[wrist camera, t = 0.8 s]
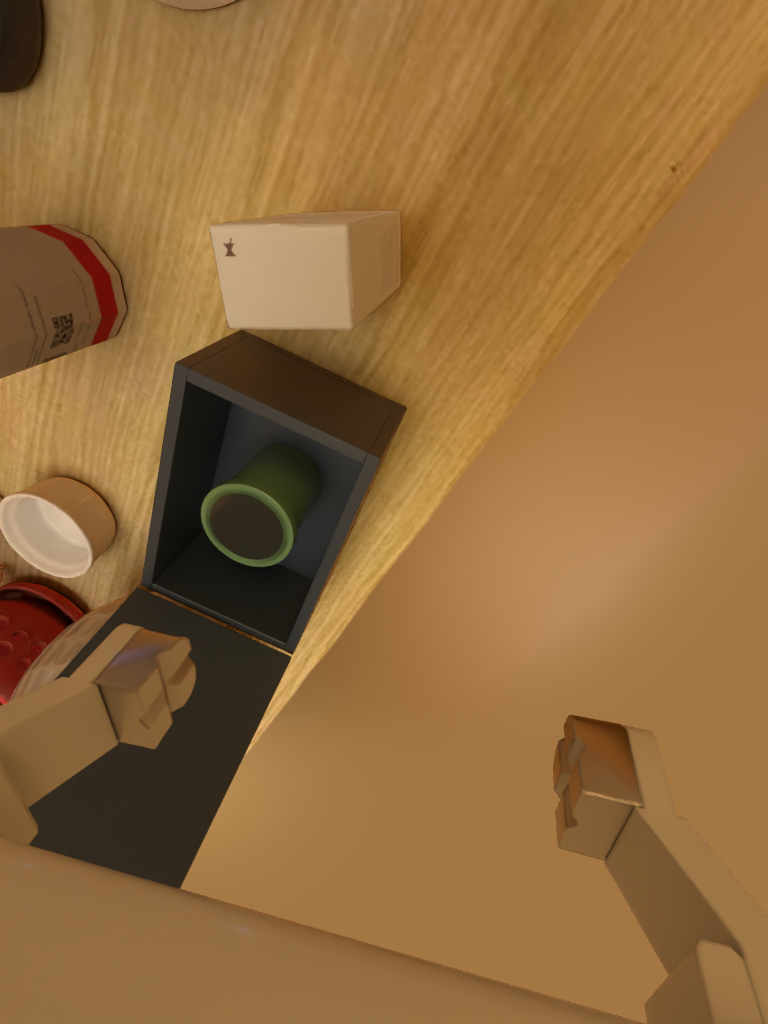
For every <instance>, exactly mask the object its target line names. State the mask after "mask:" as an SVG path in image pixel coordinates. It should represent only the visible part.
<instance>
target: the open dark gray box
mask: <svg viewBox="0 0 768 1024" xmlns="http://www.w3.org/2000/svg"><path fill="white" fill-rule="evenodd" d="M405 411H406V407H404V406H402V405H400V404H397V403H395V402H393V401H391V400H389V399H387V398H385V397H383V396H381V395H378V394H376V393H374V392H372V391H370V390H368V389H366V388H364V387H362V386H359V385H357V384H355V383H353V382H351V381H349V380H347V379H345V378H342V377H340V376H338V375H336V374H334V373H332V372H330V371H328V370H326V369H323V368H321V367H319V366H317V365H315V364H313V363H311V362H309V361H307V360H304V359H302V358H300V357H298V356H296V355H294V354H292V353H290V352H288V351H285V350H283V349H281V348H279V347H277V346H275V345H273V344H271V343H269V342H266V341H264V340H262V339H260V338H258V337H256V336H254V335H252V334H249V333H247V332H245V331H243V330H240V331H238V332H235V333H233V334H231V335H229V336H227V337H225V338H223V339H221V340H219V341H217V342H215V343H213V344H211V345H209V346H207V347H205V348H203V349H201V350H199V351H197V352H195V353H193V354H191V355H189V356H187V357H185V358H183V359H181V360H179V361H178V362H176V363H175V368H174V375H173V381H172V388H171V394H170V401H169V407H168V414H167V420H166V427H165V433H164V439H163V446H162V452H161V459H160V465H159V472H158V478H157V485H156V491H155V498H154V504H153V511H152V517H151V524H150V530H149V537H148V543H147V550H146V556H145V563H144V569H143V576H142V582H141V586H143V587H145V588H147V589H149V590H152V591H154V592H157V593H159V594H161V595H163V596H165V597H168V598H170V599H172V600H174V601H176V602H179V603H181V604H183V605H185V606H187V607H190V608H192V609H194V610H196V611H198V612H201V613H203V614H205V615H207V616H209V617H212V618H214V619H216V620H218V621H220V622H222V623H225V624H227V625H229V626H231V627H233V628H236V629H238V630H240V631H242V632H244V633H247V634H249V635H251V636H253V637H255V638H258V639H260V640H262V641H264V642H266V643H269V644H271V645H273V646H275V647H277V648H280V649H282V650H283V649H284V651H286V652H288V653H290V654H292V655H293V653H294V651H295V649H296V647H297V645H298V643H299V641H300V639H301V637H302V635H303V633H304V631H305V629H306V627H307V624H308V622H309V620H310V618H311V616H312V614H313V612H314V610H315V608H316V606H317V604H318V602H319V600H320V598H321V596H322V594H323V591H324V589H325V587H326V585H327V583H328V581H329V579H330V576H331V574H332V572H333V570H334V568H335V565H336V563H337V561H338V559H339V557H340V554H341V552H342V550H343V548H344V546H345V543H346V541H347V539H348V537H349V535H350V532H351V530H352V528H353V526H354V524H355V521H356V519H357V517H358V515H359V513H360V510H361V508H362V506H363V504H364V502H365V499H366V497H367V495H368V493H369V491H370V488H371V486H372V484H373V482H374V480H375V477H376V475H377V473H378V471H379V469H380V466H381V464H382V462H383V460H384V458H385V455H386V453H387V451H388V449H389V447H390V444H391V442H392V440H393V438H394V436H395V433H396V431H397V429H398V427H399V425H400V422H401V420H402V418H403V416H404V414H405ZM271 444H285V445H289V446H292V447H295V448H297V449H299V450H301V451H302V452H304V453H305V454H306V455H307V456H309V457H310V459H311V460H312V461H313V462H314V463H315V465H316V466H317V468H318V470H319V472H320V475H321V479H322V492H321V495H320V498H319V500H318V501H317V503H316V504H315V506H314V507H313V509H312V510H311V512H310V514H309V515H308V517H307V518H306V520H305V521H304V523H303V524H302V526H301V527H300V529H299V531H298V532H297V538H296V542H295V544H294V546H293V548H292V550H291V551H290V553H289V554H288V555H287V557H286V558H285V559H283V560H282V561H281V562H279V563H277V564H274V565H271V566H266V567H254V566H248V565H245V564H242V563H239V562H237V561H235V560H233V559H231V558H229V557H228V556H226V555H225V554H223V553H222V552H221V551H220V550H219V549H218V548H217V547H216V546H215V545H214V544H213V543H212V542H211V540H210V539H209V537H208V536H207V534H206V532H205V530H204V528H203V524H202V520H201V507H202V503H203V501H204V499H205V497H206V496H207V494H208V493H209V492H210V491H211V490H212V489H213V488H214V487H215V486H217V485H218V484H220V483H221V482H224V481H226V480H229V479H230V478H231V477H232V476H233V475H234V474H235V473H236V472H237V471H238V470H239V469H240V468H241V467H242V466H243V465H244V464H245V463H246V462H247V461H248V460H249V459H250V458H251V457H252V456H253V455H254V454H255V453H256V452H257V451H258V450H259V449H261V448H262V447H264V446H267V445H271Z"/></svg>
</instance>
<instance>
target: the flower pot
mask: <svg viewBox="0 0 768 1024" xmlns="http://www.w3.org/2000/svg"><path fill="white" fill-rule="evenodd" d="M83 616H84V614H83V613H82V612H81V611H80V610H79V609H78V608H77V607H76V606H75V605H74V604H73V603H72V602H71V601H69V600H68V599H67V598H65V597H64V596H62V595H61V594H59V593H57V592H56V591H54V590H52V589H50V588H47V587H45V586H42V585H38V584H34V583H26V582H18V583H11V584H7V585H4V586H1V587H0V706H1V705H3V704H5V703H7V702H9V700H10V698H11V696H12V693H13V691H14V690H15V688H16V687H17V685H18V683H19V682H20V680H21V678H22V677H23V675H24V673H25V672H26V670H27V669H28V667H29V666H30V665H31V664H32V663H33V661H34V660H35V659H36V658H37V657H38V655H39V654H40V653H41V652H42V651H43V649H44V648H45V647H46V646H47V645H48V644H49V643H50V642H52V641H53V640H54V639H55V638H56V637H57V636H58V635H59V634H60V633H61V632H62V631H63V630H65V629H66V628H67V627H68V626H70V625H71V624H73V623H74V622H76V621H77V620H78V619H80V618H81V617H83Z"/></svg>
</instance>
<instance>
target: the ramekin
mask: <svg viewBox="0 0 768 1024" xmlns="http://www.w3.org/2000/svg"><path fill="white" fill-rule="evenodd" d="M0 529H1V531H2V533H3V535H4V537H5V538H6V540H7V542H8V543H9V544H10V546H11V547H12V548H13V549H14V550H15V551H16V552H17V553H18V554H19V555H20V556H21V557H22V558H23V559H24V560H26V561H27V562H28V563H29V564H31V565H32V566H34V567H35V568H37V569H39V570H41V571H43V572H45V573H47V574H50V575H53V576H56V577H60V578H76V577H79V576H81V575H83V574H85V573H86V572H87V571H88V570H89V569H90V568H91V567H92V565H93V564H94V561H95V560H96V559H97V558H98V557H99V556H100V555H101V553H102V552H103V551H104V550H105V549H106V548H107V547H108V546H109V544H110V543H111V542H112V540H113V538H114V535H115V521H114V518H113V515H112V513H111V511H110V509H109V508H108V506H107V505H106V503H105V502H104V501H103V500H102V499H101V497H100V496H99V495H97V494H96V493H95V492H94V491H93V490H91V489H90V488H89V487H87V486H85V485H84V484H82V483H80V482H78V481H75V480H72V479H69V478H63V477H53V478H49V479H47V480H44V481H41V482H39V483H37V484H35V485H33V486H31V487H29V488H27V489H25V490H23V491H19V492H16V493H13V494H10V495H8V496H7V497H5V498H4V499H3V500H2V501H1V502H0Z"/></svg>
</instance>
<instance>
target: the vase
mask: <svg viewBox="0 0 768 1024" xmlns="http://www.w3.org/2000/svg"><path fill="white" fill-rule="evenodd" d="M150 593H152V594H154V595H156V596H158V597H161V598H163V599H165V600H167V601H169V602H172V603H174V604H176V605H178V606H180V607H183V608H185V609H187V610H189V611H191V612H193V613H196V614H198V615H200V616H202V617H204V618H207V619H209V620H211V621H213V622H215V623H218V624H220V625H222V626H224V627H226V628H228V626H227V624H225V623H222V622H220V621H218V620H216V619H214V618H212V617H209V616H207V615H205V614H203V613H201V612H198V611H196V610H194V609H192V608H190V607H187V606H185V605H183V604H181V603H179V602H176V601H174V600H172V599H170V598H168V597H165V596H163V595H161V594H159V593H157V592H150ZM128 597H129V596H128ZM128 597H124V598H120V599H117V600H114V601H112V602H110V603H107V604H105V605H103V606H101V607H99V608H97V609H95V610H93V611H91V612H89V613H87V614H86V615H84V616H83V617H81V618H80V619H78V620H77V621H76V622H74V623H73V624H71V625H70V626H68V627H67V628H66V629H65V630H63V631H62V632H61V633H60V634H59V635H58V636H57V637H56V638H55V639H54V640H53V641H52V642H50V643H49V644H48V645H47V646H46V647H45V648H44V649H43V651H42V652H41V653H40V654H39V655H38V657H37V658H36V659H35V660H34V661H33V663H32V664H31V665H30V666H29V667H28V669H27V670H26V672H25V673H24V675H23V677H22V678H21V680H20V682H19V683H18V685H17V687H16V688H15V690H14V691H13V693H12V696H11V698H10V700H9V702H10V701H12V700H14V699H16V698H18V697H20V696H22V695H25V694H27V693H29V692H31V691H33V690H35V689H37V688H39V687H42V686H44V685H46V684H48V683H50V682H52V681H54V680H55V678H56V677H57V676H58V675H59V674H60V673H61V672H62V671H63V670H64V668H65V667H66V666H67V665H68V664H69V663H70V662H71V661H72V659H73V658H74V657H75V656H76V655H77V654H78V653H79V652H80V650H81V649H82V648H83V647H84V646H85V645H86V644H87V643H88V642H89V640H90V639H91V638H92V637H93V636H94V635H95V634H96V633H97V631H98V630H99V629H100V628H101V627H102V626H103V625H104V624H105V623H106V621H107V620H108V619H109V618H110V617H111V616H112V615H113V614H114V612H115V611H116V610H117V609H118V608H119V607H120V606H121V605H122V603H123V602H124V601H125V600H126V599H127V598H128Z"/></svg>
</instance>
